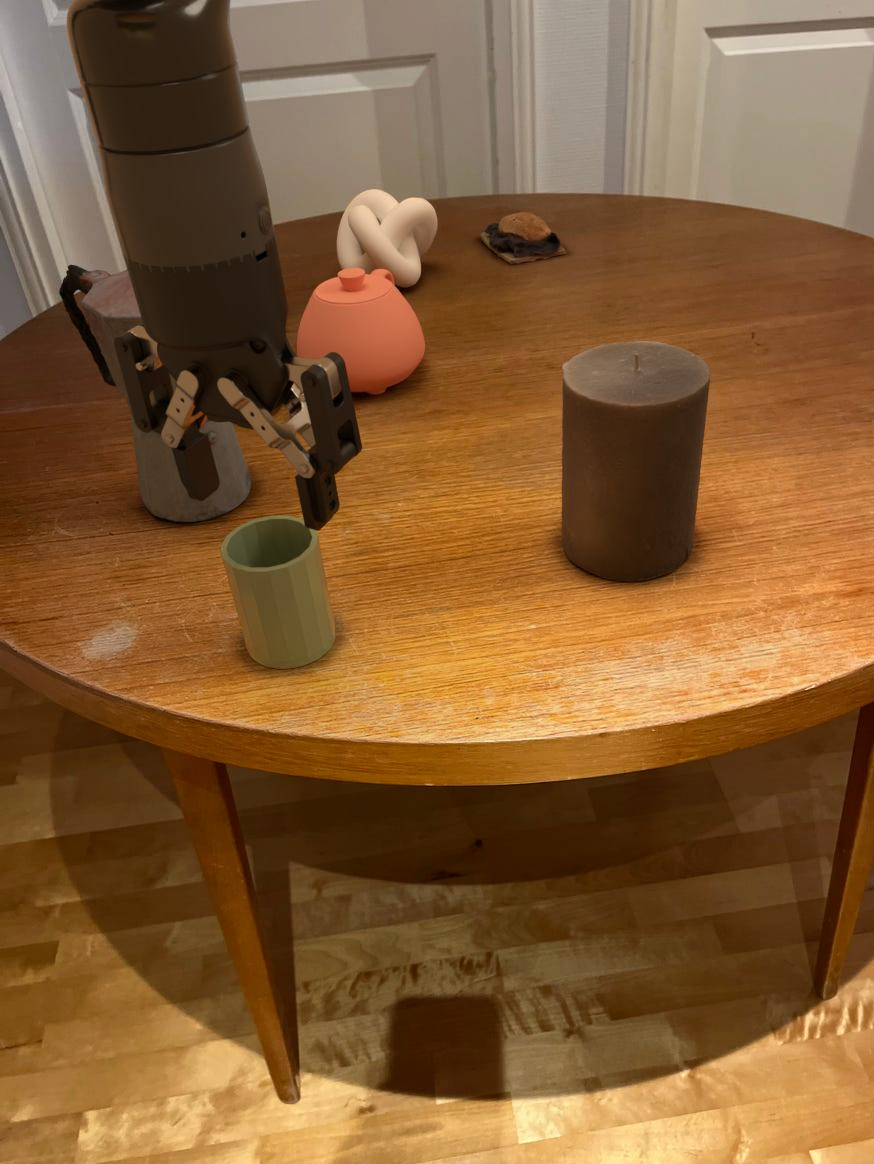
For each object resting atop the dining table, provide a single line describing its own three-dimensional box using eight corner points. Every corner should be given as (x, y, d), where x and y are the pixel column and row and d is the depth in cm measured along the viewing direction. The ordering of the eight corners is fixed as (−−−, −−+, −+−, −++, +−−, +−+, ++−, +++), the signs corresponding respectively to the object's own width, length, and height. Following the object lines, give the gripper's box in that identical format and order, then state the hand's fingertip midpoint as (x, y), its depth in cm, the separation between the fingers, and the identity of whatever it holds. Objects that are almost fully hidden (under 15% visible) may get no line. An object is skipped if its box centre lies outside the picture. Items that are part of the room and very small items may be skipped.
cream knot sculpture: (414, 251, 121) (407, 174, 116) (462, 280, 113) (458, 199, 108) (331, 272, 117) (319, 194, 111) (375, 304, 109) (365, 221, 104)
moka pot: (244, 542, 75) (179, 283, 62) (80, 511, 80) (-13, 264, 67) (303, 478, 82) (255, 233, 69) (149, 453, 86) (77, 218, 73)
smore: (475, 239, 124) (473, 209, 122) (536, 228, 126) (536, 198, 124) (506, 266, 116) (504, 234, 114) (570, 254, 118) (570, 222, 116)
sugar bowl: (278, 395, 94) (258, 289, 87) (346, 336, 103) (332, 236, 97) (394, 412, 90) (382, 303, 83) (453, 349, 99) (446, 247, 93)
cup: (229, 654, 65) (200, 557, 60) (280, 602, 69) (258, 507, 64) (304, 679, 63) (281, 580, 58) (352, 623, 67) (335, 526, 62)
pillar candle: (691, 587, 68) (714, 389, 58) (552, 577, 70) (552, 383, 60) (693, 510, 75) (714, 322, 66) (567, 503, 77) (569, 318, 67)
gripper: (37, 243, 49) (130, 516, 59) (271, 276, 44) (328, 568, 54) (137, 198, 54) (207, 457, 64) (358, 222, 49) (395, 500, 59)
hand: (262, 508), depth 59 cm, fingers open, 8 cm apart
